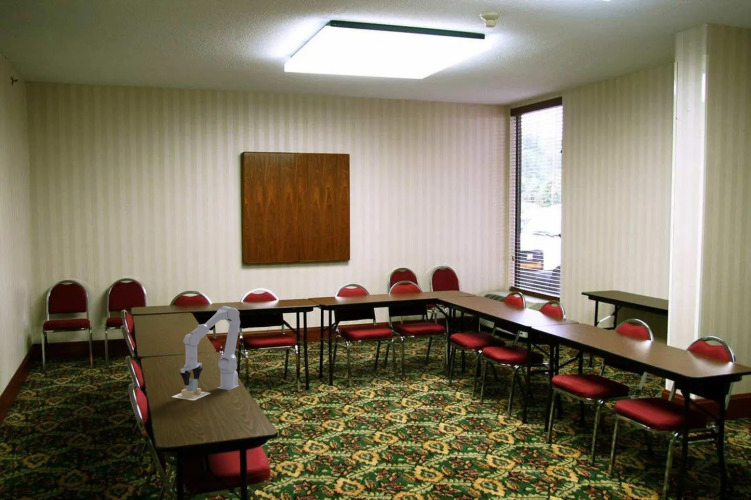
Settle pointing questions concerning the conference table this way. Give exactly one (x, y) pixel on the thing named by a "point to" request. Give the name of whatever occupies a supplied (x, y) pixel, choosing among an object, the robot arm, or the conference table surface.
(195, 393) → the maple slab
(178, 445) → the conference table surface
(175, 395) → the white square board
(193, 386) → the grey rectangular block
